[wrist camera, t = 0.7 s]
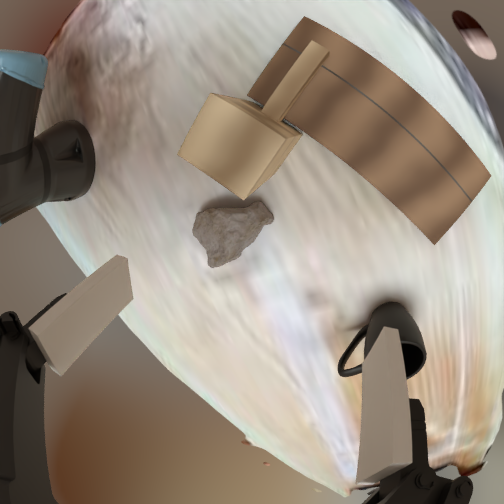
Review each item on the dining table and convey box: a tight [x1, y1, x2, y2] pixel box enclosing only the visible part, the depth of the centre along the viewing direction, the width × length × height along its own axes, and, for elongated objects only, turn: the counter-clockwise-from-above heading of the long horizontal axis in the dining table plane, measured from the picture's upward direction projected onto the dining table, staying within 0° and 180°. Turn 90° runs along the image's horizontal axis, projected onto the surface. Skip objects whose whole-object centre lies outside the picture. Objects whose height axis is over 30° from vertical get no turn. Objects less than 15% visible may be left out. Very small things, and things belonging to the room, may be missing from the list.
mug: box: [338, 302, 426, 379], centre depth 33 cm, size 8×12×10 cm
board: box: [247, 16, 491, 245], centre depth 25 cm, size 28×12×2 cm, turn 58°
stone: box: [193, 201, 274, 268], centre depth 34 cm, size 10×8×6 cm
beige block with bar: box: [177, 41, 330, 200], centre depth 23 cm, size 7×16×12 cm, turn 148°
